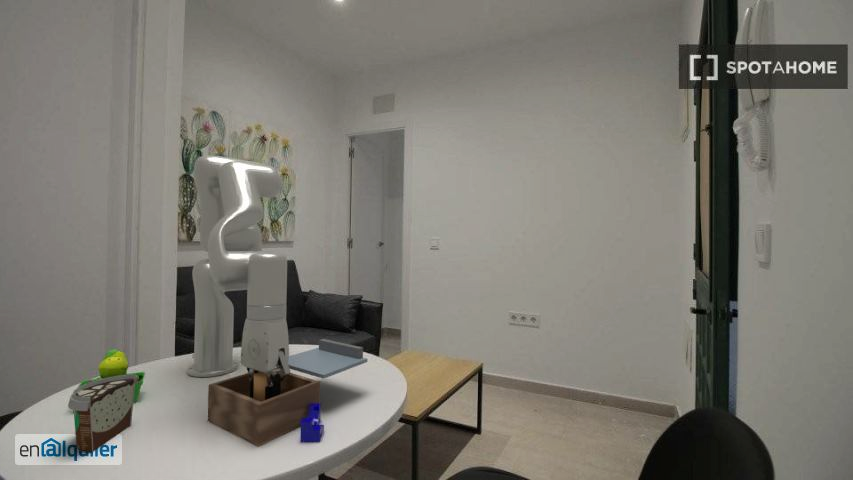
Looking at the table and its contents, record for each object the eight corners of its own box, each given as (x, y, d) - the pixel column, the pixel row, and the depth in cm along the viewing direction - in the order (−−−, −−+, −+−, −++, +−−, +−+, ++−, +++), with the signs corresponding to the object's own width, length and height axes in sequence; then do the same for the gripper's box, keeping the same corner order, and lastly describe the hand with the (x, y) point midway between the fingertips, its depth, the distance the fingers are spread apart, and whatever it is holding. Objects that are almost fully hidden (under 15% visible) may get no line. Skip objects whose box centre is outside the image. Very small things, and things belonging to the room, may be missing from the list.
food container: (103, 424, 74) (104, 373, 74) (136, 423, 75) (137, 373, 75) (45, 460, 62) (47, 399, 62) (85, 459, 62) (87, 398, 62)
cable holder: (319, 443, 69) (320, 421, 69) (300, 443, 69) (300, 421, 69) (327, 422, 77) (328, 403, 77) (310, 423, 77) (311, 403, 77)
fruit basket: (73, 416, 77) (74, 361, 77) (82, 401, 85) (84, 351, 85) (142, 404, 83) (143, 353, 84) (145, 391, 91) (146, 344, 91)
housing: (207, 421, 76) (208, 384, 76) (268, 398, 88) (269, 366, 88) (258, 447, 67) (259, 405, 67) (319, 417, 79) (319, 381, 79)
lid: (273, 363, 89) (273, 349, 89) (319, 350, 100) (319, 338, 101) (323, 378, 80) (323, 363, 80) (367, 361, 91) (367, 348, 91)
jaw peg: (248, 404, 76) (249, 374, 77) (267, 397, 80) (268, 369, 80) (261, 409, 74) (262, 379, 74) (280, 402, 78) (281, 373, 78)
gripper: (226, 310, 79) (224, 398, 79) (276, 320, 70) (274, 418, 70) (258, 306, 85) (256, 387, 85) (308, 314, 76) (307, 404, 76)
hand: (265, 400), depth 77 cm, fingers closed on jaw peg, 4 cm apart
